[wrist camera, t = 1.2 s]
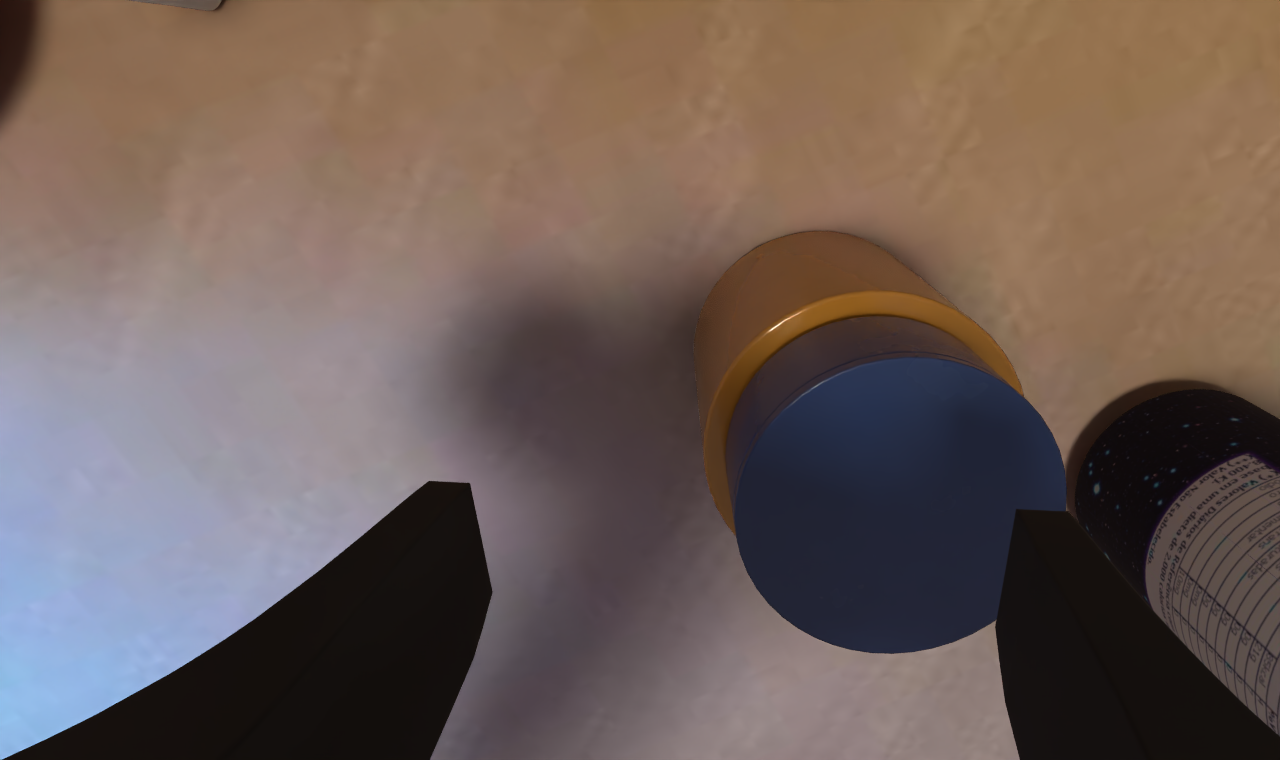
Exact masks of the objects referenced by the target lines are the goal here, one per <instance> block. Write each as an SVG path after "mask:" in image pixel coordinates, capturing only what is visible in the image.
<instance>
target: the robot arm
mask: <svg viewBox="0 0 1280 760" xmlns="http://www.w3.org/2000/svg"><path fill="white" fill-rule="evenodd" d="M491 596H492V587H491V582H490V577H489V572H488V568H487V563H486V558H485V553H484V548H483V544H482V539H481V534H480V529H479V524H478V520H477V515H476V510H475V505H474V500H473V496H472V491H471V486H470V483H459V482H438V481H428V482H427V483H426V484H424V485H423V486H422V487H421V488H419V489H418V490H417V491H415V492H414V493H413V494H412V495H410V496H409V497H408V498H407V499H406V500H404V501H403V502H402V503H401V504H400V505H398V506H397V507H396V508H395V509H394V510H392V511H391V512H390V513H389V514H388V515H386V516H385V517H384V518H383V519H382V520H380V521H379V522H378V523H377V524H376V525H374V526H373V527H372V528H371V529H370V530H369V531H367V532H366V533H365V534H364V535H363V536H361V537H360V538H359V539H358V540H356V541H355V542H354V543H353V544H351V545H350V546H349V547H348V548H347V549H345V550H344V551H343V552H342V553H340V554H339V555H338V556H337V557H336V558H334V559H333V560H332V561H331V562H329V563H328V564H327V565H326V566H325V567H323V568H322V569H321V570H320V571H318V572H317V573H316V574H314V575H313V576H312V577H310V578H309V579H308V580H306V581H305V582H304V583H302V584H301V585H300V586H298V587H297V588H296V589H294V590H293V591H292V592H290V593H289V594H288V595H286V596H285V597H284V598H282V599H281V600H280V601H278V602H277V603H276V604H274V605H273V606H272V607H270V608H269V609H268V610H266V611H265V612H264V613H262V614H261V615H260V616H258V617H257V618H255V619H254V620H253V621H251V622H250V623H248V624H247V625H245V626H244V627H243V628H241V629H240V630H238V631H237V632H235V633H234V634H232V635H231V636H229V637H228V638H226V639H225V640H223V641H222V642H220V643H219V644H217V645H215V646H214V647H212V648H211V649H209V650H208V651H206V652H204V653H203V654H201V655H200V656H198V657H196V658H195V659H193V660H192V661H190V662H189V663H187V664H185V665H184V666H182V667H180V668H179V669H177V670H175V671H174V672H172V673H170V674H169V675H167V676H165V677H163V678H161V679H160V680H158V681H156V682H154V683H152V684H151V685H149V686H147V687H145V688H143V689H142V690H140V691H138V692H136V693H134V694H133V695H131V696H129V697H127V698H125V699H124V700H122V701H120V702H118V703H116V704H114V705H113V706H111V707H109V708H107V709H105V710H104V711H102V712H100V713H98V714H96V715H94V716H92V717H90V718H88V719H87V720H85V721H83V722H80V723H78V724H76V725H74V726H72V727H70V728H68V729H66V730H64V731H62V732H60V733H58V734H56V735H54V736H52V737H50V738H48V739H46V740H44V741H41V742H39V743H37V744H35V745H33V746H31V747H28V748H26V749H24V750H22V751H20V752H18V753H15V754H13V755H11V756H9V757H7V758H5V759H2V760H430V758H431V756H432V753H433V751H434V749H435V747H436V744H437V742H438V740H439V738H440V735H441V733H442V731H443V728H444V726H445V724H446V722H447V719H448V717H449V715H450V712H451V710H452V708H453V706H454V703H455V701H456V699H457V696H458V694H459V692H460V689H461V687H462V685H463V682H464V680H465V678H466V675H467V673H468V671H469V668H470V666H471V663H472V661H473V658H474V655H475V652H476V649H477V646H478V642H479V639H480V636H481V632H482V629H483V625H484V622H485V618H486V614H487V611H488V607H489V603H490V600H491ZM995 628H996V637H997V645H998V653H999V661H1000V668H1001V675H1002V682H1003V689H1004V696H1005V703H1006V707H1007V711H1008V715H1009V719H1010V723H1011V727H1012V730H1013V734H1014V738H1015V742H1016V746H1017V750H1018V754H1019V757H1020V760H1280V736H1279V735H1278V734H1277V733H1275V732H1274V731H1273V730H1272V729H1271V728H1270V727H1269V726H1268V725H1266V724H1265V723H1264V722H1263V721H1262V720H1261V719H1260V718H1259V717H1258V716H1257V715H1255V714H1254V713H1253V712H1252V711H1251V710H1250V709H1249V708H1248V707H1247V706H1246V705H1245V704H1244V703H1243V702H1242V701H1240V700H1239V699H1238V698H1237V697H1236V696H1235V695H1234V694H1233V693H1232V692H1231V691H1230V690H1229V689H1228V688H1227V687H1226V686H1225V685H1224V684H1223V683H1222V682H1221V681H1220V680H1219V679H1218V678H1217V677H1216V676H1215V675H1214V674H1213V673H1212V672H1211V671H1210V670H1209V669H1208V668H1207V667H1206V666H1205V665H1204V664H1203V663H1202V662H1201V661H1200V660H1199V659H1198V658H1197V657H1196V656H1195V655H1194V654H1193V653H1192V652H1191V651H1190V649H1189V648H1188V647H1187V646H1186V645H1185V644H1184V643H1183V642H1182V641H1181V640H1180V639H1179V638H1178V637H1177V635H1176V634H1175V633H1174V632H1173V631H1172V630H1171V629H1170V628H1169V627H1168V626H1167V625H1166V624H1165V622H1164V621H1163V620H1162V619H1161V618H1160V617H1159V616H1158V615H1157V614H1156V613H1155V612H1154V611H1153V610H1152V608H1151V607H1150V606H1149V605H1148V604H1147V603H1146V602H1145V601H1144V599H1143V598H1142V597H1141V596H1140V595H1139V594H1138V593H1137V591H1136V590H1135V589H1134V588H1133V587H1132V586H1131V584H1130V583H1129V582H1128V581H1127V580H1126V579H1125V578H1124V576H1123V575H1122V574H1121V573H1120V572H1119V571H1118V569H1117V568H1116V567H1115V566H1114V565H1113V563H1112V562H1111V561H1110V560H1109V559H1108V558H1107V556H1106V555H1105V554H1104V553H1103V552H1102V550H1101V549H1100V548H1099V547H1098V546H1097V544H1096V543H1095V542H1094V541H1093V540H1092V538H1091V537H1090V536H1089V535H1088V533H1087V532H1086V531H1085V530H1084V529H1083V527H1082V526H1081V525H1080V524H1079V523H1078V522H1077V520H1076V519H1075V518H1074V517H1073V516H1072V515H1071V514H1070V513H1069V512H1068V511H1048V510H1027V509H1016V512H1015V518H1014V524H1013V529H1012V535H1011V541H1010V547H1009V552H1008V558H1007V564H1006V569H1005V575H1004V581H1003V586H1002V592H1001V598H1000V603H999V609H998V615H997V620H996V626H995Z"/></svg>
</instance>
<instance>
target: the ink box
mask: <svg viewBox="0 0 1280 760" xmlns="http://www.w3.org/2000/svg"><path fill="white" fill-rule="evenodd" d="M131 1H138V2H145V3H153V4H162V5H170V6H177V7H183V8H191V9H197V10H205V11H212V10H214V9H216V8H217V7H218V6H219V4H220V3H221V1H222V0H131Z"/></svg>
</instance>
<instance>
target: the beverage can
mask: <svg viewBox="0 0 1280 760" xmlns="http://www.w3.org/2000/svg"><path fill="white" fill-rule="evenodd" d="M1075 508H1076V514H1077V518H1078V522H1079V524H1080V525H1081V526H1082V527H1083V529H1084V530H1085V531H1086V532H1087V533H1088V535H1089V536H1090V537H1091V538H1092V540H1093V541H1094V542H1095V543H1096V544H1097V546H1098V547H1099V548H1100V549H1101V550H1102V552H1103V553H1104V554H1105V555H1106V556H1107V558H1108V559H1109V560H1110V561H1111V562H1112V563H1113V565H1114V566H1115V567H1116V568H1117V569H1118V571H1119V572H1120V573H1121V574H1122V575H1123V576H1124V578H1125V579H1126V580H1127V581H1128V582H1129V583H1130V584H1131V586H1132V587H1133V588H1134V589H1135V590H1136V591H1137V593H1138V594H1139V595H1140V596H1141V597H1142V598H1143V599H1144V601H1145V602H1146V603H1147V604H1148V605H1149V606H1150V607H1151V608H1152V610H1153V611H1154V612H1155V613H1156V614H1157V615H1158V616H1159V617H1160V618H1161V619H1162V620H1163V621H1164V622H1165V624H1166V625H1167V626H1168V627H1169V628H1170V629H1171V630H1172V631H1173V632H1174V633H1175V634H1176V635H1177V637H1178V638H1179V639H1180V640H1181V641H1182V642H1183V643H1184V644H1185V645H1186V646H1187V647H1188V648H1189V649H1190V651H1191V652H1192V653H1193V654H1194V655H1195V656H1196V657H1197V658H1198V659H1199V660H1200V661H1201V662H1202V663H1203V664H1204V665H1205V666H1206V667H1207V668H1208V669H1209V670H1210V671H1211V672H1212V673H1213V674H1214V675H1215V676H1216V677H1217V678H1218V679H1219V680H1220V681H1221V682H1222V683H1223V684H1224V685H1225V686H1226V687H1227V688H1228V689H1229V690H1230V691H1231V692H1232V693H1233V694H1234V695H1235V696H1236V697H1237V698H1238V699H1239V700H1240V701H1242V702H1243V703H1244V704H1245V705H1246V706H1247V707H1248V708H1249V709H1250V710H1251V711H1252V712H1253V713H1254V714H1255V715H1257V716H1258V717H1259V718H1260V719H1261V720H1262V721H1263V722H1264V723H1265V724H1266V725H1268V726H1269V727H1270V728H1271V729H1272V730H1273V731H1274V732H1275V733H1277V734H1278V735H1279V736H1280V419H1278V418H1277V417H1275V416H1273V415H1271V414H1270V413H1268V412H1266V411H1264V410H1263V409H1261V408H1259V407H1257V406H1256V405H1254V404H1252V403H1250V402H1248V401H1247V400H1245V399H1243V398H1240V397H1238V396H1236V395H1232V394H1229V393H1226V392H1221V391H1216V390H1206V389H1192V390H1182V391H1176V392H1171V393H1167V394H1164V395H1160V396H1158V397H1155V398H1152V399H1150V400H1147V401H1145V402H1143V403H1141V404H1139V405H1137V406H1135V407H1134V408H1132V409H1130V410H1129V411H1127V412H1126V413H1124V414H1123V415H1122V416H1120V417H1119V418H1118V419H1116V420H1115V421H1114V422H1113V423H1112V424H1111V425H1110V426H1109V427H1108V428H1107V429H1106V430H1105V431H1104V432H1103V433H1102V434H1101V435H1100V436H1099V437H1098V439H1097V440H1096V441H1095V443H1094V444H1093V445H1092V447H1091V449H1090V450H1089V452H1088V454H1087V455H1086V457H1085V459H1084V461H1083V464H1082V466H1081V469H1080V472H1079V475H1078V479H1077V483H1076V490H1075Z"/></svg>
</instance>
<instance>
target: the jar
mask: <svg viewBox="0 0 1280 760" xmlns="http://www.w3.org/2000/svg"><path fill="white" fill-rule="evenodd" d="M870 316H886V317H898V318H904V319H911V320H915V321H918V322H921V323H925V324H928V325H931V326H933V327H936V328H938V329H940V330H942V331H944V332H947V333H949V334H950V335H952V336H953V337H955V338H956V339H958V340H960V341H961V342H963V343H964V344H965V345H966V346H968V347H969V348H970V349H971V350H972V351H974V352H975V353H976V354H977V355H978V356H979V357H980V358H981V359H983V360H984V361H985V362H986V363H987V364H988V365H989V366H990V367H991V368H992V369H994V370H995V371H996V372H997V373H998V374H999V375H1000V376H1001V377H1002V378H1003V379H1004V380H1006V381H1007V382H1008V383H1009V384H1010V385H1011V386H1012V387H1013V388H1014V389H1015V390H1017V391H1018V392H1019V393H1020V394H1021V395H1022V396H1023V397H1024V394H1023V391H1022V387H1021V384H1020V382H1019V379H1018V377H1017V375H1016V372H1015V370H1014V368H1013V366H1012V364H1011V363H1010V361H1009V360H1008V358H1007V356H1006V355H1005V353H1004V352H1003V350H1002V349H1001V348H1000V346H999V345H998V344H997V343H996V342H995V341H994V340H993V338H992V337H991V336H990V335H989V334H988V333H987V332H986V331H985V330H983V329H982V328H981V327H980V326H979V325H978V324H976V323H975V322H974V321H973V320H972V319H971V318H969V317H968V316H967V315H966V314H964V313H963V312H962V311H961V310H959V309H958V308H957V307H956V306H955V305H953V304H952V303H951V302H950V301H948V300H947V299H946V298H945V297H943V296H942V295H941V294H940V293H939V292H937V291H936V290H935V289H934V288H932V287H931V286H930V285H929V284H928V283H926V282H925V281H924V280H923V279H921V278H920V277H919V276H918V275H916V274H915V273H914V272H913V271H912V270H910V269H909V268H908V267H907V266H905V265H904V264H903V263H902V262H900V261H899V260H898V259H897V258H896V257H894V256H893V255H892V254H891V253H889V252H887V251H886V250H884V249H883V248H881V247H880V246H878V245H876V244H874V243H871V242H869V241H867V240H865V239H862V238H859V237H856V236H852V235H849V234H844V233H838V232H828V231H812V232H802V233H796V234H792V235H788V236H784V237H781V238H778V239H775V240H773V241H770V242H767V243H765V244H763V245H762V246H760V247H758V248H756V249H754V250H752V251H751V252H749V253H748V254H747V255H745V256H744V257H742V258H741V259H739V260H738V261H737V262H736V263H735V264H734V265H733V266H732V267H731V268H729V269H728V270H727V271H726V273H725V274H724V275H723V276H722V277H721V278H720V280H719V281H718V282H717V283H716V285H715V286H714V288H713V289H712V291H711V292H710V294H709V296H708V297H707V299H706V302H705V304H704V306H703V308H702V310H701V313H700V316H699V319H698V322H697V325H696V331H695V337H694V349H693V358H694V368H695V378H696V388H697V398H698V408H699V418H700V428H701V438H702V448H703V458H704V468H705V474H706V478H707V483H708V487H709V490H710V493H711V495H712V498H713V500H714V503H715V505H716V508H717V509H718V511H719V513H720V515H721V516H722V518H723V520H724V522H725V523H726V525H727V526H728V527H729V529H730V530H731V531H732V532H733V534H734V535H735V536H736V533H735V527H734V520H733V514H732V507H731V501H730V494H729V488H728V481H727V474H726V462H725V452H726V439H727V434H728V429H729V424H730V421H731V418H732V415H733V413H734V410H735V407H736V405H737V403H738V401H739V399H740V397H741V395H742V393H743V391H744V390H745V388H746V387H747V385H748V384H749V382H750V381H751V379H752V378H753V377H754V375H755V374H756V373H757V372H758V371H759V370H760V369H761V367H762V366H763V365H764V364H765V363H766V362H767V361H768V360H769V359H770V358H771V357H773V356H774V355H775V354H776V353H777V352H778V351H780V350H781V349H782V348H783V347H785V346H786V345H788V344H789V343H791V342H792V341H794V340H795V339H797V338H799V337H801V336H803V335H805V334H807V333H809V332H811V331H813V330H815V329H817V328H820V327H823V326H825V325H828V324H831V323H834V322H838V321H843V320H847V319H852V318H859V317H870Z"/></svg>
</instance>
